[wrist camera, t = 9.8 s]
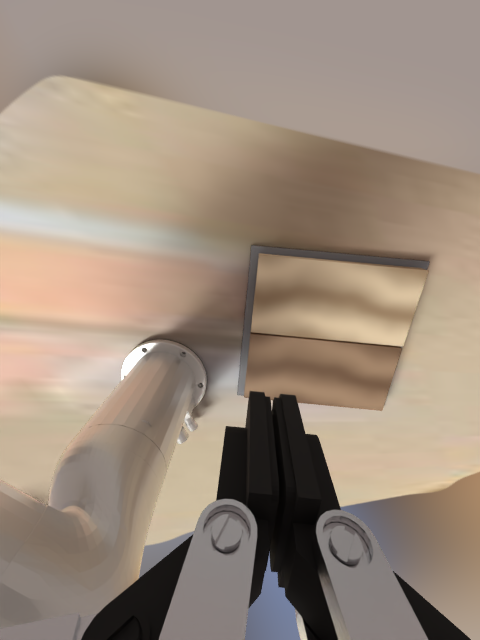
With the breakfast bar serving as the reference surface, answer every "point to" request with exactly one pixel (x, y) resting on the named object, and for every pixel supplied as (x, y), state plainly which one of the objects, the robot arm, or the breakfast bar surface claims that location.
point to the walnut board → (321, 370)
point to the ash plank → (335, 299)
